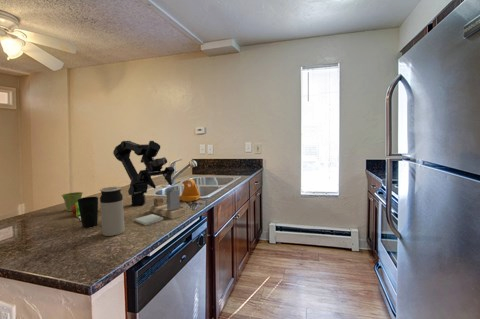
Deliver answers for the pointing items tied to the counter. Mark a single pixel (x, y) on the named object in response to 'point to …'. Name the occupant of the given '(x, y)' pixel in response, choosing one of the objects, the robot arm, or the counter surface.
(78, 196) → the plant pot
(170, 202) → the lever cap
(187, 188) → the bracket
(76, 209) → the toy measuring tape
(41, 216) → the counter surface
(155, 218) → the sage mat
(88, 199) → the cup
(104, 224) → the travel mug
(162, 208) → the body
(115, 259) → the counter surface
